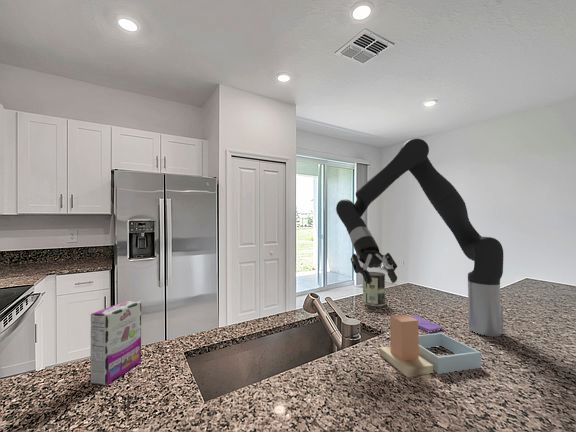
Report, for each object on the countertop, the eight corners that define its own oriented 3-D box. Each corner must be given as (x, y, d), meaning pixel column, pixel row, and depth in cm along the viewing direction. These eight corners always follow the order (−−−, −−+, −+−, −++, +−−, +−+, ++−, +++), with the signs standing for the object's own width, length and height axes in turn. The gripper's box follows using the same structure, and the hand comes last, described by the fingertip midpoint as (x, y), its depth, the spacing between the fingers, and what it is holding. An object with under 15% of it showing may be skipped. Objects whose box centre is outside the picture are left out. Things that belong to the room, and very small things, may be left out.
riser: (402, 351, 80) (402, 344, 80) (433, 373, 68) (433, 365, 68) (379, 354, 78) (379, 347, 78) (407, 377, 66) (407, 368, 66)
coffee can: (381, 300, 134) (380, 271, 135) (388, 306, 124) (388, 275, 124) (360, 300, 134) (360, 271, 135) (365, 306, 124) (365, 275, 125)
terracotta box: (406, 350, 76) (405, 314, 77) (418, 358, 71) (418, 320, 72) (390, 352, 75) (390, 315, 75) (402, 360, 70) (401, 321, 71)
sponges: (415, 320, 108) (415, 315, 108) (444, 331, 96) (444, 326, 96) (401, 322, 105) (401, 317, 105) (429, 334, 94) (429, 329, 94)
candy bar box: (125, 360, 74) (127, 299, 74) (141, 362, 73) (142, 301, 73) (87, 384, 63) (89, 312, 64) (105, 386, 62) (107, 314, 63)
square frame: (441, 345, 84) (441, 332, 84) (481, 367, 71) (480, 352, 71) (404, 350, 81) (404, 336, 81) (438, 374, 68) (438, 357, 68)
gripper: (348, 235, 91) (366, 276, 79) (385, 235, 94) (408, 274, 83) (341, 249, 96) (357, 290, 84) (377, 249, 99) (397, 287, 88)
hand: (382, 282), depth 83 cm, fingers open, 8 cm apart
